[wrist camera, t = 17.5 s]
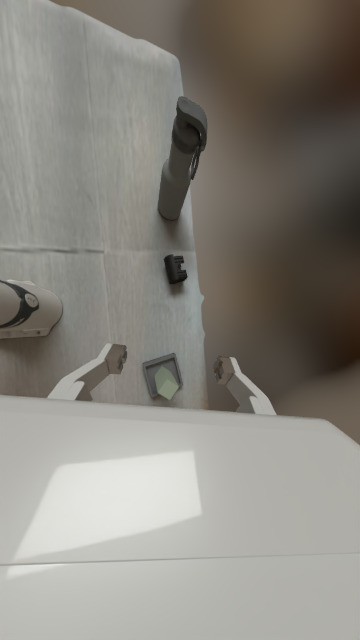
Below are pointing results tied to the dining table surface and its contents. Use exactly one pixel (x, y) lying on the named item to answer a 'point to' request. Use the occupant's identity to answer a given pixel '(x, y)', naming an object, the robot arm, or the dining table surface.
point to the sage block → (165, 383)
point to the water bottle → (182, 157)
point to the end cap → (175, 269)
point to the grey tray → (155, 365)
